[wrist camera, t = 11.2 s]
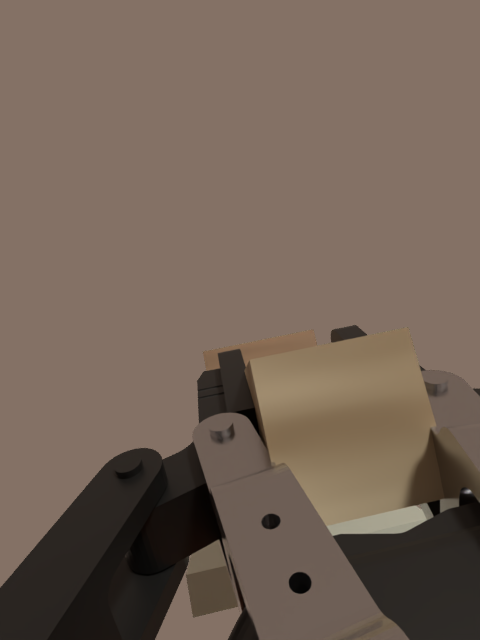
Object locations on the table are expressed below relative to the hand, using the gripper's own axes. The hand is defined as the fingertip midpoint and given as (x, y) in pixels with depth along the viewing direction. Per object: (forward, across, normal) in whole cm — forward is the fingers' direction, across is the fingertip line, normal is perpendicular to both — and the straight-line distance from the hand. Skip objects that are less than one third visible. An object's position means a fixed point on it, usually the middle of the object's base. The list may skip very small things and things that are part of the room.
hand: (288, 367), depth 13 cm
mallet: (+2, 0, +5) cm, 5 cm away
